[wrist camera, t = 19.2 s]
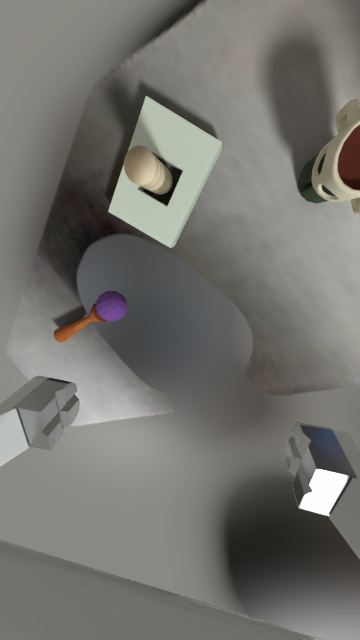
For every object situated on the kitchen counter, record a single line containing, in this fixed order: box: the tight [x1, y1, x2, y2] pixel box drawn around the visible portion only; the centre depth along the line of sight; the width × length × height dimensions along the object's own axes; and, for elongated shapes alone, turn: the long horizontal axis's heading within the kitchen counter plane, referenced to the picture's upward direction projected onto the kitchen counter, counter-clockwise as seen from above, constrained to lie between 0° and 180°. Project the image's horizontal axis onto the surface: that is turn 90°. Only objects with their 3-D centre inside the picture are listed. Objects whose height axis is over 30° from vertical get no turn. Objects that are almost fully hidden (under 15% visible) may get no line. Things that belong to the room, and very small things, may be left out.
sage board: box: [108, 96, 222, 248], centre depth 35 cm, size 12×16×3 cm
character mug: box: [298, 99, 360, 214], centre depth 27 cm, size 11×7×13 cm, turn 25°
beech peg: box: [124, 146, 174, 195], centre depth 31 cm, size 4×4×12 cm
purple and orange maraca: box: [54, 291, 127, 342], centre depth 47 cm, size 6×6×20 cm
